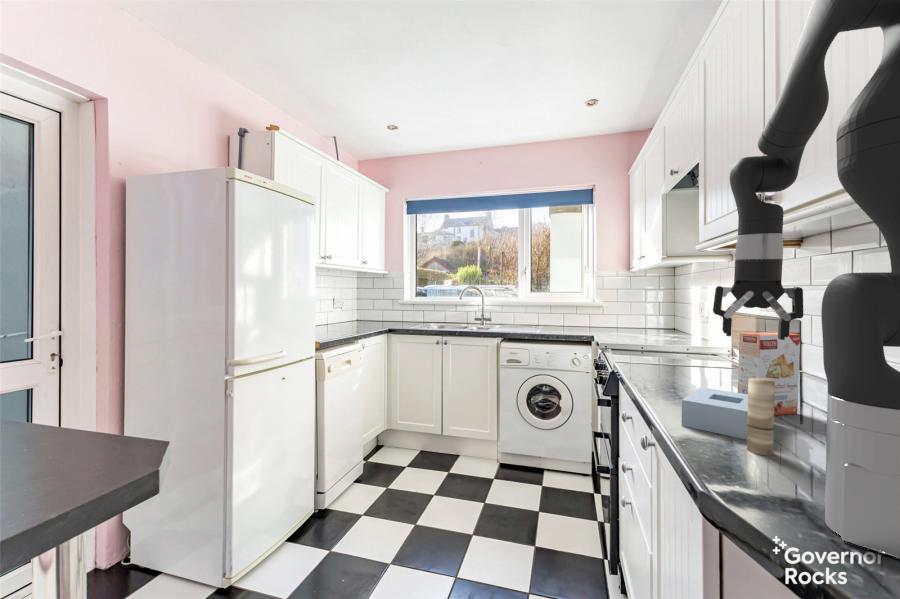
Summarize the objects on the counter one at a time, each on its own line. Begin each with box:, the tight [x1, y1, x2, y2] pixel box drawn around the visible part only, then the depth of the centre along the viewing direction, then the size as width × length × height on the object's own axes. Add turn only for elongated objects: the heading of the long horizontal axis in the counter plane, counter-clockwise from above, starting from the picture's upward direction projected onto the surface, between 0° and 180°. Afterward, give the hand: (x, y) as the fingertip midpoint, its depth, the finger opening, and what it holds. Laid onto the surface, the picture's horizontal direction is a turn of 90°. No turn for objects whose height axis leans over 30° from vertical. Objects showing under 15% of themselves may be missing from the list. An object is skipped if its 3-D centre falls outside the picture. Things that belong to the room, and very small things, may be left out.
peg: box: [746, 378, 775, 457], centre depth 76 cm, size 4×4×14 cm
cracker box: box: [737, 331, 801, 416], centre depth 101 cm, size 14×6×21 cm, turn 105°
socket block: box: [681, 386, 748, 440], centre depth 92 cm, size 18×14×6 cm
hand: (754, 337), depth 79 cm, fingers open, 8 cm apart
